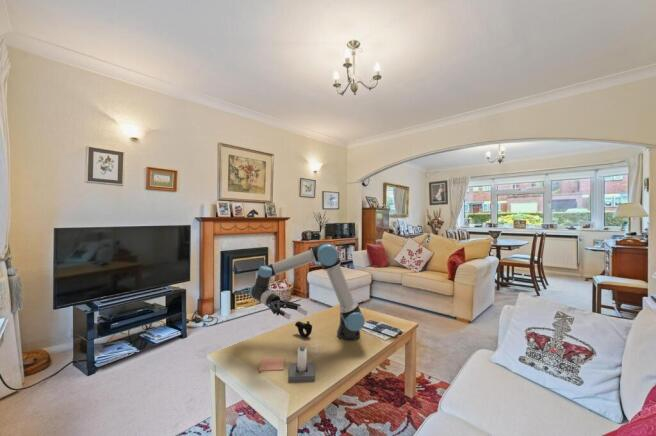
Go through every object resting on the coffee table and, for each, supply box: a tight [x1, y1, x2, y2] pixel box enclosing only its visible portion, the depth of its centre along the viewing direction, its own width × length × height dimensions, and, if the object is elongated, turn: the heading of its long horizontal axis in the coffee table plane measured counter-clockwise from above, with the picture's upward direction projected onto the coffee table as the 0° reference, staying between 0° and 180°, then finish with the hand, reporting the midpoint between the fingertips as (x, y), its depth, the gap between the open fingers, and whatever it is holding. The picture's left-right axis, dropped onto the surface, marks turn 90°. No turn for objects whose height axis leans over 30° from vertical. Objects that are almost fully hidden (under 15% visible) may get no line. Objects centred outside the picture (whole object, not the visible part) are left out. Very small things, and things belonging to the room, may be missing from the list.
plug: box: [296, 344, 308, 372], centre depth 135 cm, size 4×4×14 cm
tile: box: [258, 356, 286, 373], centre depth 143 cm, size 12×12×1 cm
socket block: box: [288, 361, 316, 383], centre depth 135 cm, size 12×12×3 cm
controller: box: [294, 320, 313, 338], centre depth 178 cm, size 4×12×10 cm, turn 58°
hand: (298, 314), depth 142 cm, fingers open, 13 cm apart
